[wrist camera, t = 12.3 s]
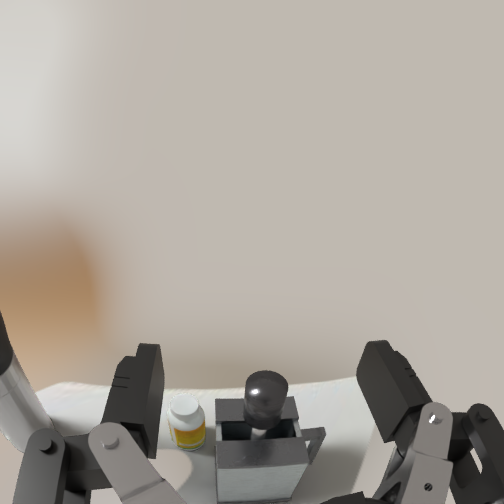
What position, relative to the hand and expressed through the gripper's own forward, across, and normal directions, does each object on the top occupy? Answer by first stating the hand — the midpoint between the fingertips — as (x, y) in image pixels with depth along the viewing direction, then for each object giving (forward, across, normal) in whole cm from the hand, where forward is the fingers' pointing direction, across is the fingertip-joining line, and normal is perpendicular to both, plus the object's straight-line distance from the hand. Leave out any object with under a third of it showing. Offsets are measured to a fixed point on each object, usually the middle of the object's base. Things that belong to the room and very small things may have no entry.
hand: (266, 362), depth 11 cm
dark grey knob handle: (+11, -3, +32) cm, 34 cm away
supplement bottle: (+18, +6, +36) cm, 41 cm away
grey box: (+11, -5, +36) cm, 38 cm away
